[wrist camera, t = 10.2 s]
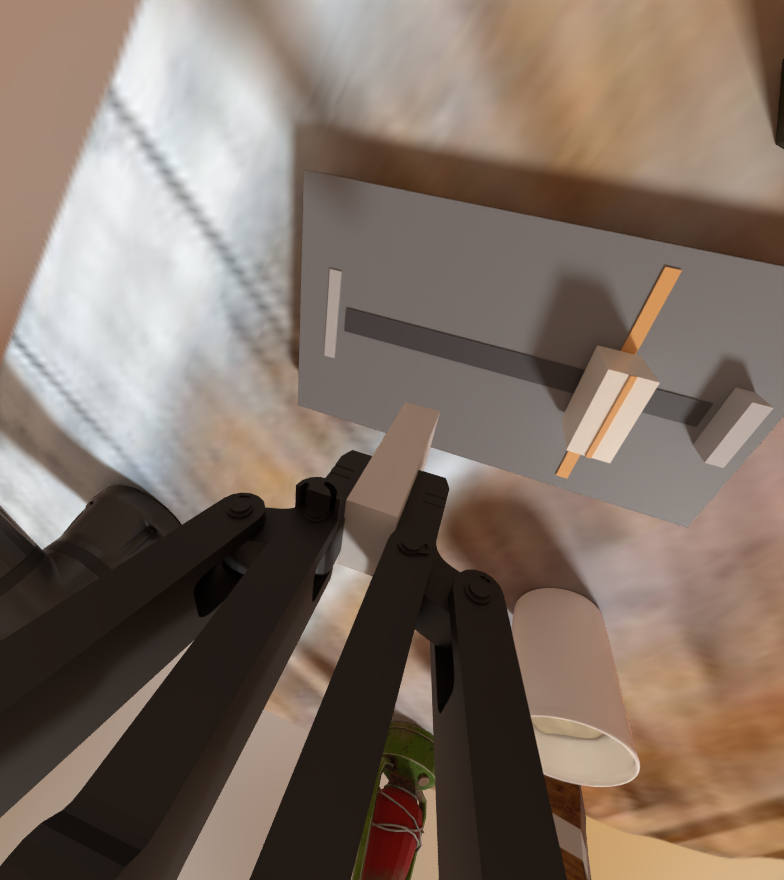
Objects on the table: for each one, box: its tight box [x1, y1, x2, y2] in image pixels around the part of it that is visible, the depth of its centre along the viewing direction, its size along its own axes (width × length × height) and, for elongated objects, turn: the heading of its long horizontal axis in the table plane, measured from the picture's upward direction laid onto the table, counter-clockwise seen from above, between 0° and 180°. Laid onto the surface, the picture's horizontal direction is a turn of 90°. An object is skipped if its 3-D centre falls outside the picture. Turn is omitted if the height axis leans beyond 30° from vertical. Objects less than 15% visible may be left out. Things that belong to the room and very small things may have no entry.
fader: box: [562, 345, 660, 463], centre depth 22 cm, size 2×5×4 cm, turn 170°
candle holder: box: [511, 588, 640, 787], centre depth 34 cm, size 10×10×12 cm
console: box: [298, 170, 784, 528], centre depth 25 cm, size 30×16×5 cm, turn 80°
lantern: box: [352, 721, 435, 880], centre depth 51 cm, size 14×11×30 cm
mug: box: [544, 775, 591, 880], centre depth 45 cm, size 20×14×15 cm
